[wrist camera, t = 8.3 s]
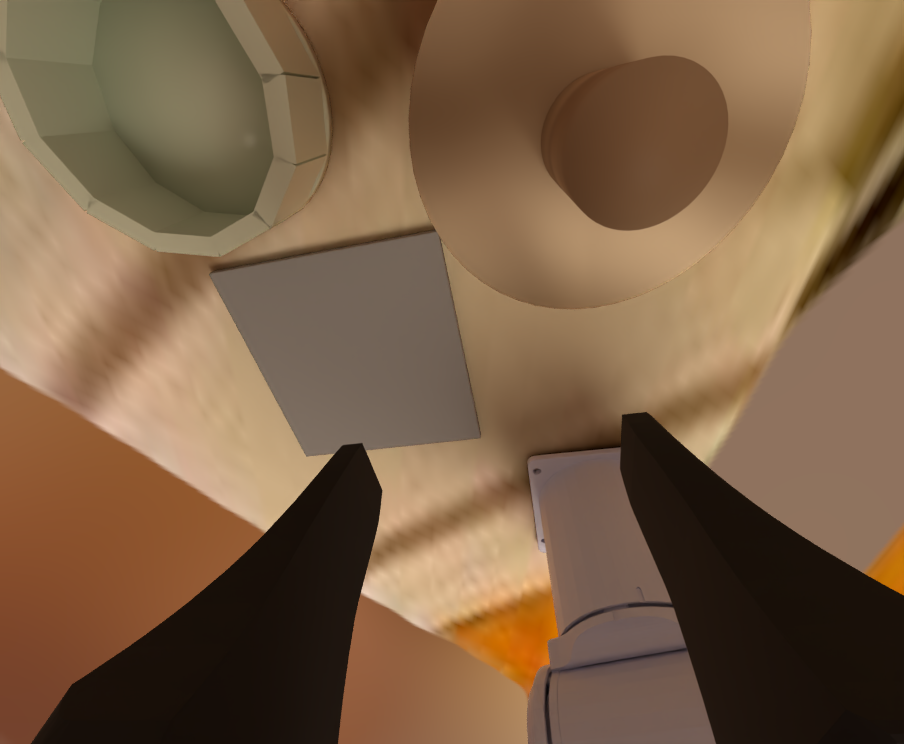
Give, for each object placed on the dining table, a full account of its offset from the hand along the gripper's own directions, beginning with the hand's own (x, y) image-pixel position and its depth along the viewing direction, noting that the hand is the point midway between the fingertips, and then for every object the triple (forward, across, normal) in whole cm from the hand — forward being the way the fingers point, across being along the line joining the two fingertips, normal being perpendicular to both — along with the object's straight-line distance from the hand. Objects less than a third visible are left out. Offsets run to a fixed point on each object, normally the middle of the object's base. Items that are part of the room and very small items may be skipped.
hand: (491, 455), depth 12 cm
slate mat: (+10, +7, +2) cm, 12 cm away
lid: (+6, -4, -7) cm, 10 cm away
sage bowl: (+10, +9, -10) cm, 17 cm away
